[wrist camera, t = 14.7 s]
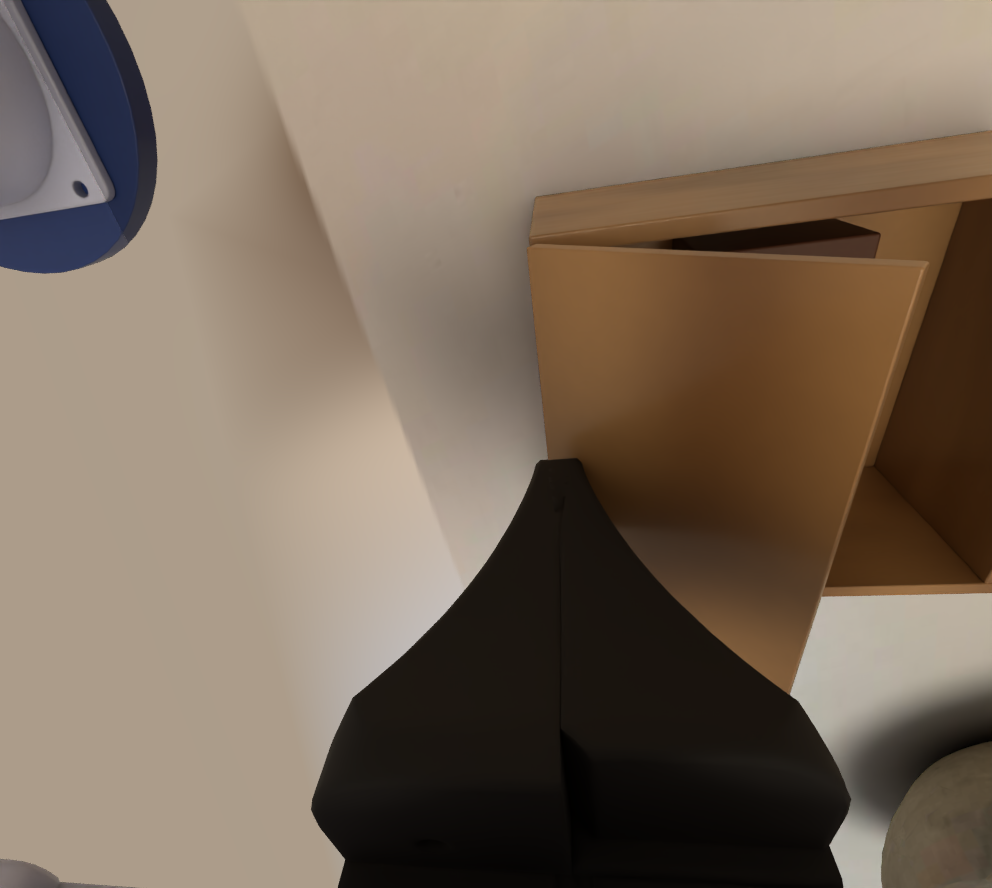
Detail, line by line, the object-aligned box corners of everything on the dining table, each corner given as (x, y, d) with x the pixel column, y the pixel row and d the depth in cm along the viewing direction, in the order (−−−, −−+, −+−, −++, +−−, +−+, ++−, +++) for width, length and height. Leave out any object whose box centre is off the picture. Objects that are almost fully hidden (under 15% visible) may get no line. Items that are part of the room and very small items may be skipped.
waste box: (560, 485, 20) (565, 602, 15) (535, 196, 14) (528, 236, 10) (875, 467, 18) (994, 593, 14) (991, 130, 13) (1272, 136, 8)
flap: (570, 614, 15) (564, 621, 15) (536, 243, 9) (525, 247, 9) (773, 746, 11) (767, 757, 11) (930, 260, 5) (925, 267, 5)
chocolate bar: (776, 450, 18) (815, 505, 15) (659, 457, 19) (678, 511, 16) (822, 212, 14) (886, 232, 11) (670, 232, 14) (697, 255, 12)
